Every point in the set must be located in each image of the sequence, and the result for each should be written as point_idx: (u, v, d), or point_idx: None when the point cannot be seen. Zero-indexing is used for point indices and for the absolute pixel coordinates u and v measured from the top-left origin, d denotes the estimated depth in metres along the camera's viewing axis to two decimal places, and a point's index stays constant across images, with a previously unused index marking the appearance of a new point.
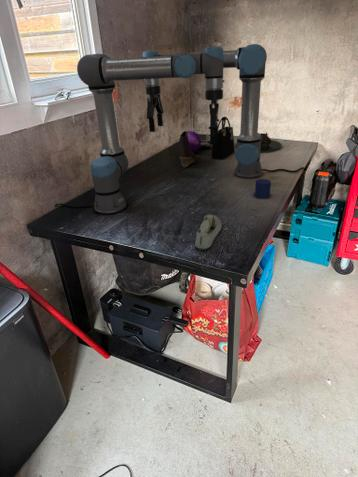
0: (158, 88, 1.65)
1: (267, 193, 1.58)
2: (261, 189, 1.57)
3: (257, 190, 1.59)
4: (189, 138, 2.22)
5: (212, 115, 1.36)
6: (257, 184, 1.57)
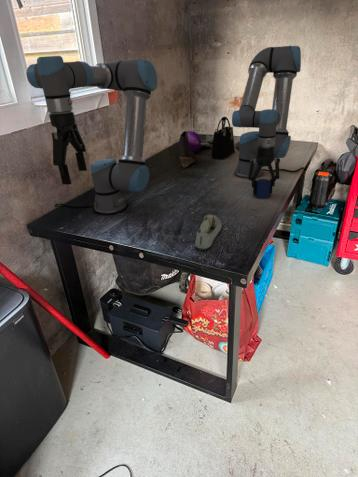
0: None
1: (267, 193, 1.58)
2: (261, 189, 1.57)
3: (257, 190, 1.59)
4: (189, 138, 2.22)
5: (55, 147, 1.01)
6: (257, 184, 1.57)
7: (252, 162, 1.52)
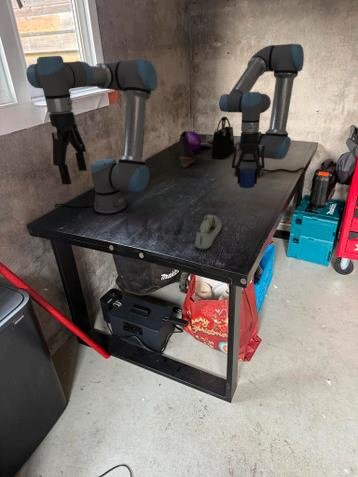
0: None
1: (250, 183, 1.48)
2: (244, 178, 1.48)
3: (240, 179, 1.50)
4: (189, 138, 2.22)
5: (55, 147, 1.01)
6: (240, 172, 1.48)
7: (234, 148, 1.44)
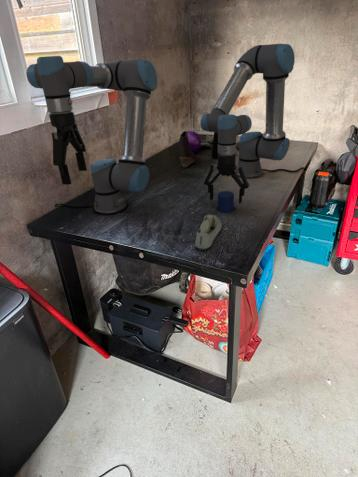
0: None
1: (227, 207, 1.47)
2: (221, 202, 1.47)
3: (218, 202, 1.49)
4: (189, 138, 2.22)
5: (55, 147, 1.01)
6: (218, 196, 1.48)
7: (211, 167, 1.42)
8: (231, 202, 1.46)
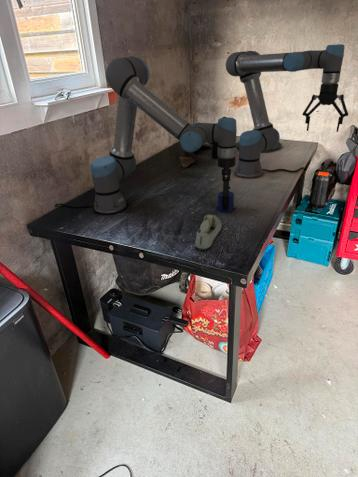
0: None
1: None
2: (220, 202, 1.47)
3: (218, 202, 1.49)
4: None
5: (224, 185, 1.38)
6: (218, 196, 1.48)
7: (313, 97, 1.55)
8: (231, 202, 1.46)
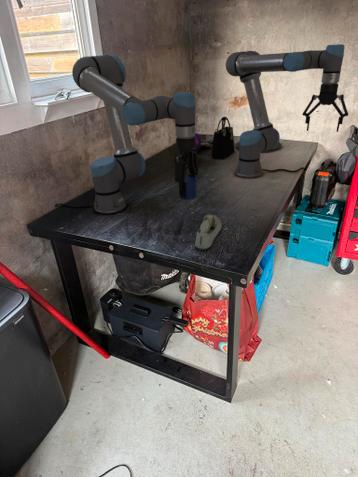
0: None
1: None
2: None
3: None
4: None
5: (176, 168, 1.25)
6: None
7: (313, 97, 1.55)
8: (190, 189, 1.31)
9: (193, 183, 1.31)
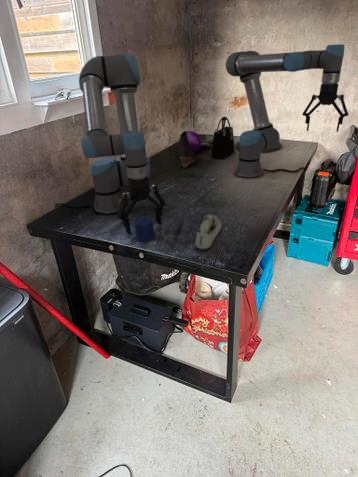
0: None
1: (137, 235, 1.29)
2: None
3: None
4: (189, 138, 2.22)
5: (120, 204, 1.21)
6: None
7: (313, 97, 1.55)
8: (141, 232, 1.27)
9: (145, 226, 1.26)
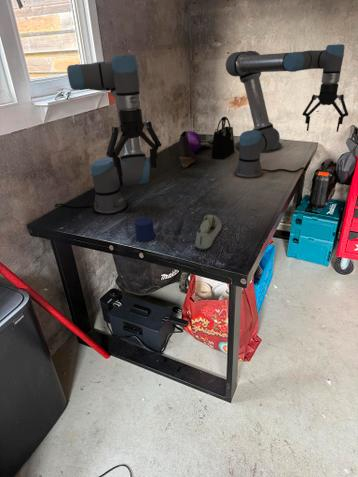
0: None
1: (137, 235, 1.29)
2: None
3: None
4: (189, 138, 2.22)
5: (110, 140, 1.09)
6: None
7: (313, 97, 1.55)
8: (141, 232, 1.27)
9: (145, 226, 1.26)
